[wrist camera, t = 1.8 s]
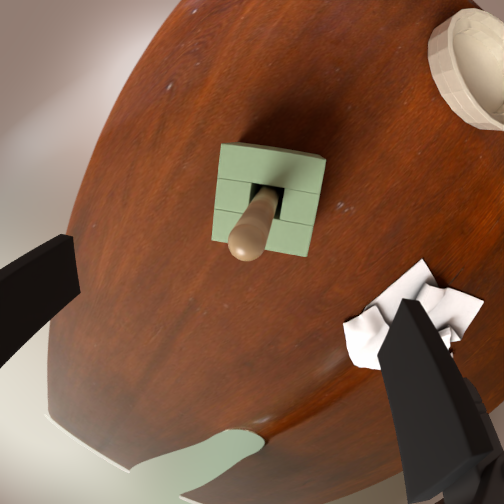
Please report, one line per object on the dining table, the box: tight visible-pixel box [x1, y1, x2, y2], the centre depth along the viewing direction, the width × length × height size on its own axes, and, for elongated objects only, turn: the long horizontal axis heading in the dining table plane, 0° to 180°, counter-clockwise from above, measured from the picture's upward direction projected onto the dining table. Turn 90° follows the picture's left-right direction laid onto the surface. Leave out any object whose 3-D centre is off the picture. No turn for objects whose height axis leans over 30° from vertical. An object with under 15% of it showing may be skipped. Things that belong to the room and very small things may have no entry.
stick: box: [228, 184, 281, 261], centre depth 23 cm, size 2×2×18 cm
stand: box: [212, 142, 326, 257], centre depth 28 cm, size 9×9×7 cm
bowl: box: [428, 8, 504, 131], centre depth 18 cm, size 14×14×6 cm
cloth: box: [343, 259, 484, 370], centre depth 34 cm, size 20×22×2 cm
